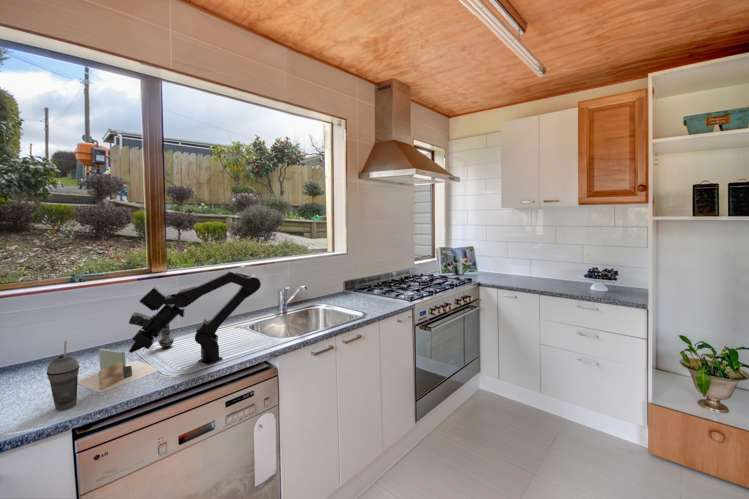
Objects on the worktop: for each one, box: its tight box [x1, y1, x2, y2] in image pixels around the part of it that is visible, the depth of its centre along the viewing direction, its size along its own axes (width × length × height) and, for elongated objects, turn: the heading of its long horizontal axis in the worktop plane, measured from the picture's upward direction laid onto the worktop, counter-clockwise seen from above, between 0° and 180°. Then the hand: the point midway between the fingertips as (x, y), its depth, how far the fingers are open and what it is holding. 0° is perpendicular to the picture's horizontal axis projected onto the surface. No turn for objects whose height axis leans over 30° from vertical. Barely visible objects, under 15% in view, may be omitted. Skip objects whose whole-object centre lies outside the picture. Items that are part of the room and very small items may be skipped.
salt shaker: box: [158, 324, 175, 351], centre depth 152 cm, size 6×6×12 cm
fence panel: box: [98, 348, 126, 375], centre depth 126 cm, size 11×1×8 cm, turn 73°
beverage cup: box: [45, 340, 80, 412], centre depth 104 cm, size 7×7×20 cm
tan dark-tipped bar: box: [98, 362, 132, 389], centre depth 120 cm, size 11×2×6 cm, turn 167°
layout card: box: [77, 360, 159, 394], centre depth 126 cm, size 17×20×1 cm
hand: (130, 351), depth 129 cm, fingers closed
